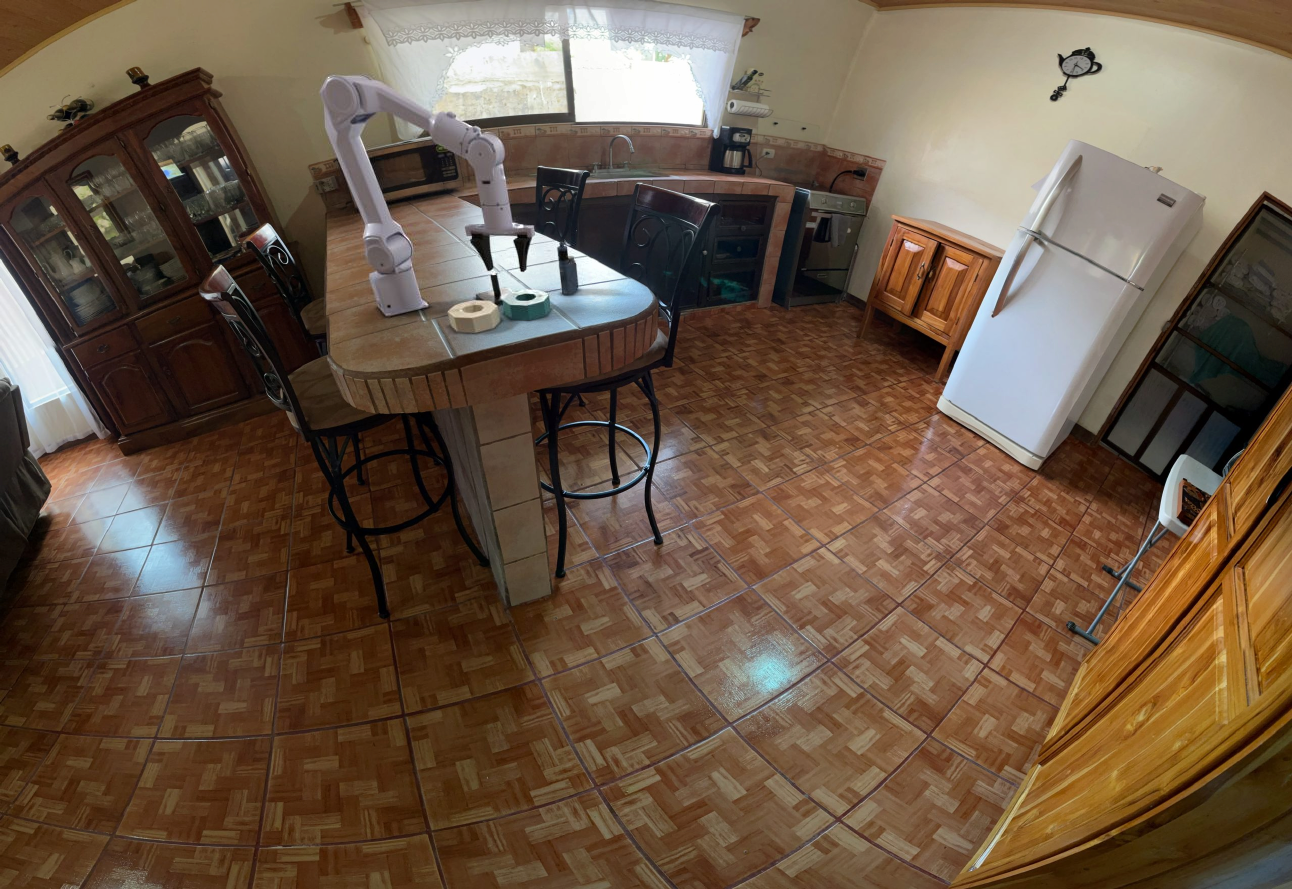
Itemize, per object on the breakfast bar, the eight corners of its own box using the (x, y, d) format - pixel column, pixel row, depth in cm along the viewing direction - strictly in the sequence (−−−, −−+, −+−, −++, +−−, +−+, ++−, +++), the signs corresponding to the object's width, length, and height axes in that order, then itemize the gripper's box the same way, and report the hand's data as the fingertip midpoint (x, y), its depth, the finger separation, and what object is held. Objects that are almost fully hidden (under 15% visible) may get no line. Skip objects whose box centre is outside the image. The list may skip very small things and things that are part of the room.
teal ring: (517, 323, 110) (515, 308, 108) (499, 310, 116) (497, 296, 114) (556, 312, 114) (555, 298, 112) (537, 300, 121) (535, 286, 119)
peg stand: (489, 307, 117) (484, 282, 114) (476, 298, 123) (470, 273, 119) (520, 299, 121) (516, 274, 118) (506, 290, 126) (502, 266, 123)
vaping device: (559, 294, 124) (553, 243, 117) (572, 287, 127) (566, 238, 120) (568, 296, 123) (563, 245, 116) (580, 289, 126) (575, 239, 119)
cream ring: (462, 336, 105) (458, 321, 103) (446, 322, 111) (442, 307, 109) (505, 325, 109) (502, 309, 107) (488, 311, 116) (485, 297, 113)
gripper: (535, 199, 106) (544, 265, 114) (469, 198, 107) (482, 263, 115) (524, 206, 100) (534, 275, 108) (455, 205, 102) (470, 273, 110)
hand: (507, 270), depth 111 cm, fingers open, 7 cm apart
